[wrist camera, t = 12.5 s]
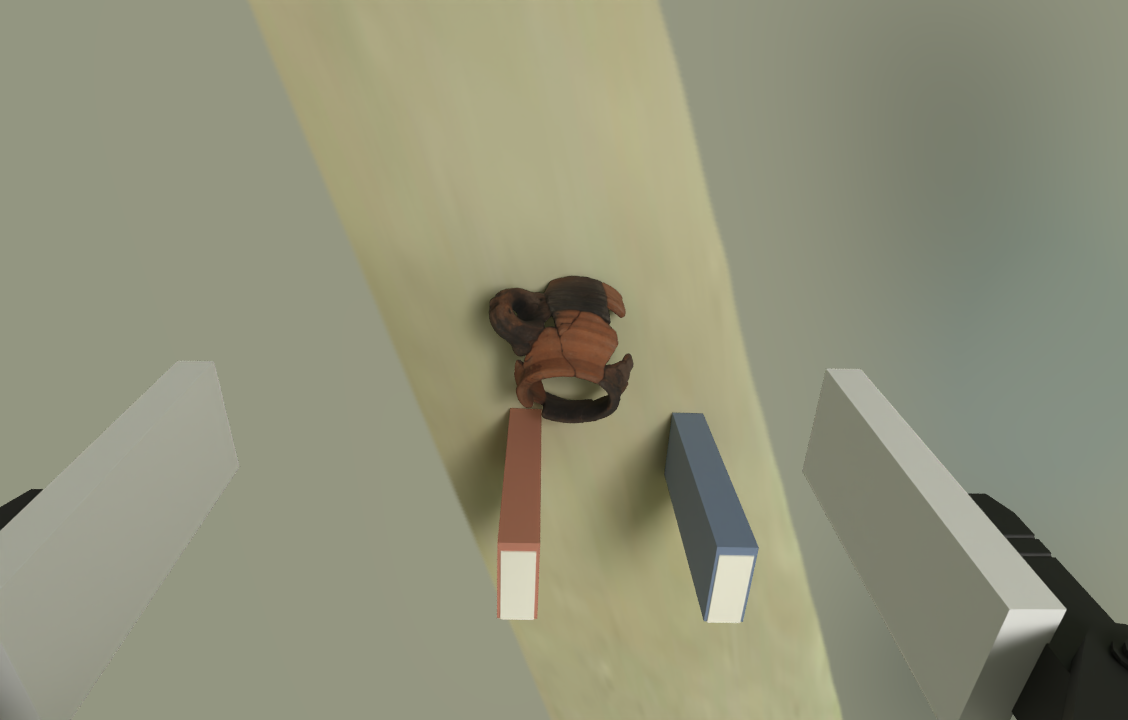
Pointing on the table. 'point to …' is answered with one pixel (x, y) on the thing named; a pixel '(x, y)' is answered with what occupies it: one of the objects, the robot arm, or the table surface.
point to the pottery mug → (564, 344)
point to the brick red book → (520, 518)
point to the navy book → (709, 520)
